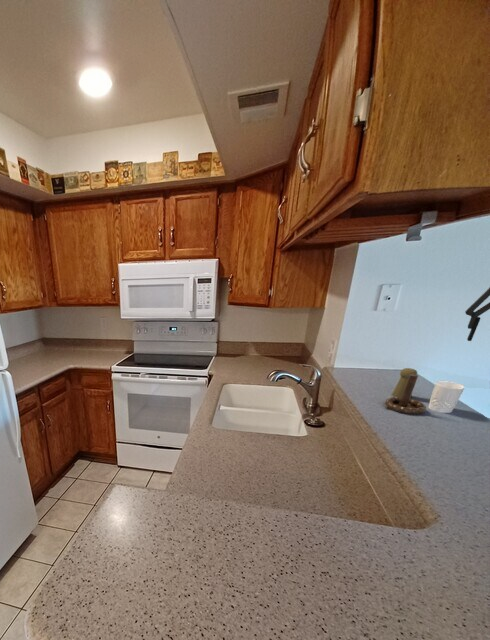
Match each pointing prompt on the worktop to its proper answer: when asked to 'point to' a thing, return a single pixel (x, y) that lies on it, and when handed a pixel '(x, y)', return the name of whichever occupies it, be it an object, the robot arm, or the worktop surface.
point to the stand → (407, 393)
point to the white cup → (445, 396)
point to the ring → (397, 408)
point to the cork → (403, 381)
